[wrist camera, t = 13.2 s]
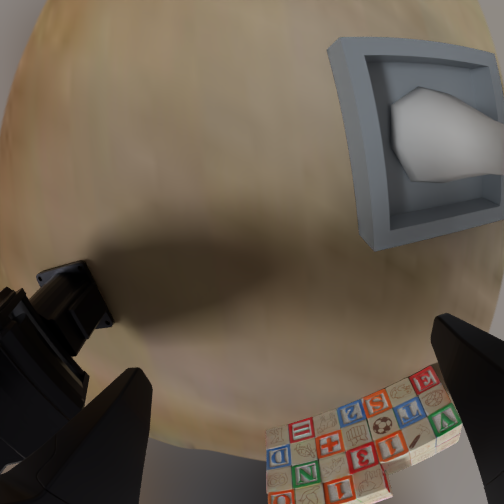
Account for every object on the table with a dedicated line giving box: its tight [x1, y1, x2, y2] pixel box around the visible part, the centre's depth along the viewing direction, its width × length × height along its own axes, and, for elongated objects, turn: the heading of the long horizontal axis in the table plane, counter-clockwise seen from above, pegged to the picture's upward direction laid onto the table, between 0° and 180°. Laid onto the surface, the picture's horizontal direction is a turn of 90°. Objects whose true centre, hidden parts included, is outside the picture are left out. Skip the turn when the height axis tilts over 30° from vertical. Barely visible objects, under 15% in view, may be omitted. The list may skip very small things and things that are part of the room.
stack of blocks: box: [266, 366, 463, 504], centre depth 24 cm, size 21×6×12 cm, turn 118°
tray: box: [327, 37, 504, 252], centre depth 15 cm, size 13×13×3 cm
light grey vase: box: [391, 86, 504, 183], centre depth 12 cm, size 7×7×10 cm
